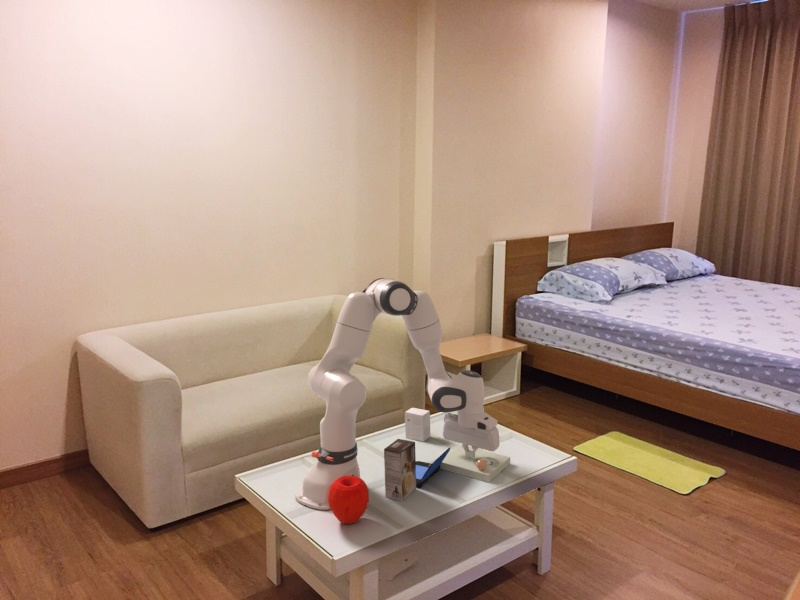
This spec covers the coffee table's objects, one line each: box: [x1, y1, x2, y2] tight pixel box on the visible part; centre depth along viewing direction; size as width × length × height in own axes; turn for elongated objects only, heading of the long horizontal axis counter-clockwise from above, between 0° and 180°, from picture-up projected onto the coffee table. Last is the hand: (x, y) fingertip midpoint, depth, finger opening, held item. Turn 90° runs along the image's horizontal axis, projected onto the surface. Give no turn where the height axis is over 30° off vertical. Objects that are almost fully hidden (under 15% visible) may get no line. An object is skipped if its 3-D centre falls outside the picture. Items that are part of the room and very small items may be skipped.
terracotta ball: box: [476, 459, 487, 470], centre depth 210 cm, size 4×4×4 cm
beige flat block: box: [440, 443, 511, 483], centre depth 218 cm, size 16×20×2 cm
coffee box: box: [383, 438, 417, 502], centre depth 199 cm, size 9×6×16 cm
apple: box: [328, 476, 370, 525], centre depth 183 cm, size 12×12×13 cm
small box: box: [404, 407, 431, 442], centre depth 242 cm, size 8×6×10 cm
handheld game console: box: [416, 447, 451, 489], centre depth 210 cm, size 16×13×9 cm
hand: (470, 456), depth 218 cm, fingers closed
